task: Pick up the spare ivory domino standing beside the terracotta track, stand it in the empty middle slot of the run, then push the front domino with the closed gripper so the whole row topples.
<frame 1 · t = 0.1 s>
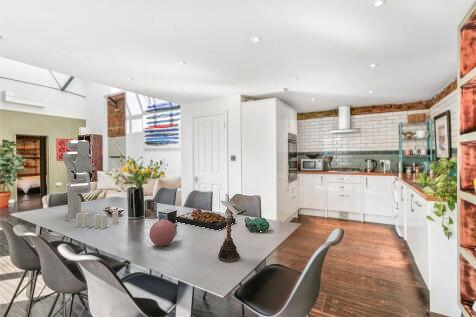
hand: (83, 179, 180), 37 cm above the table, tool pointing down, fingers open, 9 cm apart
track board: (91, 228, 180), on the table
coffee box: (150, 218, 211), on the table
mineral: (256, 231, 175), on the table
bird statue: (233, 258, 127), on the table
domino 2: (85, 226, 181), point 1 cm above the table, touching track board
food platter: (204, 223, 197), on the table
domino 4: (97, 227, 179), point 1 cm above the table, touching track board
dusty pink rubber ball: (165, 244, 148), on the table
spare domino: (115, 224, 190), on the table
domino 5: (104, 228, 178), point 1 cm above the table, touching track board
domino 1: (79, 226, 182), point 1 cm above the table, touching track board
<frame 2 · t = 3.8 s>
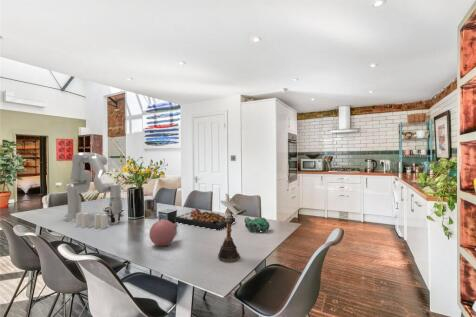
hand: (115, 221, 190), 2 cm above the table, tool pointing down, fingers closed on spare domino, 4 cm apart
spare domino: (115, 224, 190), on the table, touching gripper
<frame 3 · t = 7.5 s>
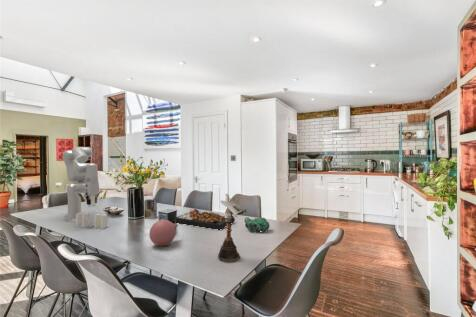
hand: (91, 203, 180), 19 cm above the table, tool pointing down, fingers closed on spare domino, 4 cm apart
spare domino: (91, 206, 180), point 16 cm above the table, touching gripper
when the fingers open (4 cm above the table, at t = 11.2 s): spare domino stays where it is, resting on track board.
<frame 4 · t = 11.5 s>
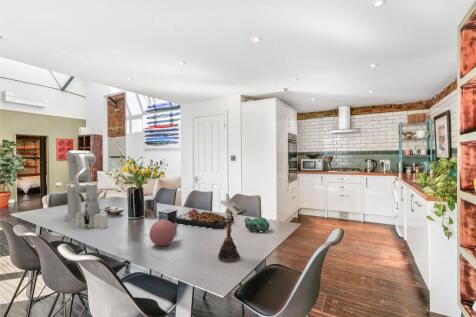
hand: (91, 222, 180), 4 cm above the table, tool pointing down, fingers open, 8 cm apart
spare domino: (91, 227, 180), point 1 cm above the table, touching track board
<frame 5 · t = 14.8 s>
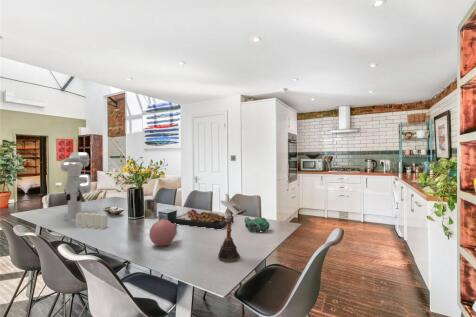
hand: (73, 200, 184), 20 cm above the table, tool pointing down, fingers open, 9 cm apart
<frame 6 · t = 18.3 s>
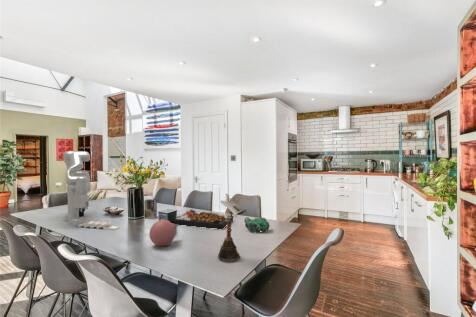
hand: (81, 216, 182), 8 cm above the table, tool pointing down, fingers closed
domino 2: (86, 225, 181), point 1 cm above the table, tilted 73°, touching domino 1, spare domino, track board
domino 4: (99, 226, 179), point 1 cm above the table, tilted 73°, touching domino 5, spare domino, track board
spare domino: (92, 226, 180), point 1 cm above the table, tilted 73°, touching domino 2, domino 4, track board
domino 5: (105, 227, 178), point 1 cm above the table, tilted 94°, touching domino 4, track board
domino 1: (80, 225, 182), point 1 cm above the table, tilted 73°, touching domino 2, track board
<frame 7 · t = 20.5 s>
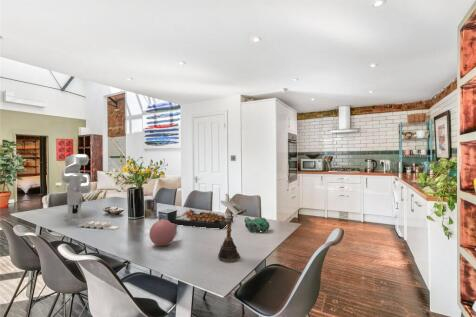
hand: (75, 213, 185), 10 cm above the table, tool pointing down, fingers closed
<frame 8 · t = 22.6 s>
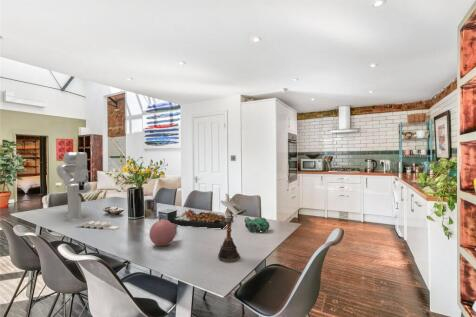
hand: (81, 190, 193), 27 cm above the table, tool pointing down, fingers closed
at the end: domino 5 tilted 94°; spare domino tilted 73°; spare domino 0.1 cm from the target spot, point 1.4 cm above the table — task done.
